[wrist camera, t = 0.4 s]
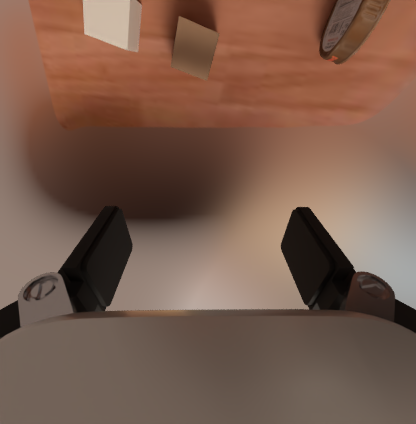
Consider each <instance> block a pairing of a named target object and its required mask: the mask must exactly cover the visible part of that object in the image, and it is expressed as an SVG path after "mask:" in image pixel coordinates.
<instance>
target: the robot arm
mask: <svg viewBox="0 0 416 424" xmlns="http://www.w3.org/2000/svg"><path fill="white" fill-rule="evenodd" d="M281 250H282V253H283V255H284V257H285V260H286V262H287V264H288V267H289V269H290V271H291V274H292V276H293V278H294V281H295V283H296V285H297V288H298V290H299V293H300V295H301V297H302V300H303V302H304V304H305V305H308V307H309V309H310V310H304V309H299V310H298V309H266V310H265V309H262V310H260V309H255V310H254V309H252V310H247V309H245V310H145V311H144V310H137V311H105V309H106V307H107V306H109V305H110V304H111V301H112V299H113V297H114V294H115V291H116V289H117V287H118V284H119V281H120V279H121V276H122V274H123V271H124V269H125V266H126V264H127V261H128V258H129V256H130V254H131V251H132V241H131V238H130V235H129V231H128V228H127V225H126V221H125V218H124V215H123V211H122V209H119V208H118V207H117V206H105V207H104V209H103V210H102V211H101V213H100V214H99V216H98V217H97V218H96V220H95V221H94V222H93V224H92V225H91V227H90V228H89V229H88V231H87V233H86V234H85V235H84V236H83V238H82V239H81V240H80V242H79V243H78V245H77V246H76V247H75V249H74V250H73V252H72V253H71V255H70V256H69V257H68V259H67V260H66V262H65V263H64V264H63V266H62V267H61V268H60V270H59V271H58V273H54V272H50V273H45V274H42V275H40V276H37V277H35V278H34V279H32V280H31V281H29V282H28V283H27V284H26V285H25V286H24V287H23V288H22V289H21V291H20V293H19V295H18V300H17V301H16V302H14V303H12V304H10V305H8V306H6V307H5V308H3V309H1V310H0V424H416V310H415V309H413V308H411V307H410V306H407V305H406V304H404V303H402V302H400V301H398V300H396V299H395V294H394V291H393V290H392V288H391V287H390V286H389V285H388V284H387V282H385V281H384V280H383V279H381V278H380V277H378V276H376V275H374V274H371V273H368V272H357V273H356V271H355V270H354V269H353V268H354V267H353V265H352V264H351V263H350V261H349V260H348V259H347V257H346V256H345V255H344V253H343V252H342V251H341V249H340V248H339V247H338V245H337V244H336V243H335V241H334V240H333V239H332V237H331V236H330V235H329V233H328V232H327V231H326V229H325V228H324V227H323V225H322V224H321V223H320V221H319V220H318V219H317V217H316V216H315V215H314V213H313V212H312V211H311V209H310V208H308V207H297V208H296V209H295V210H293V211H292V214H291V217H290V220H289V223H288V225H287V229H286V231H285V234H284V237H283V240H282V243H281Z"/></svg>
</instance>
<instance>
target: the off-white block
mask: <svg viewBox="0 0 416 424" xmlns="http://www.w3.org/2000/svg"><path fill="white" fill-rule="evenodd" d="M141 10H142V5H141V4H140V3H139V2H138V1H137V0H83V11H84V34H86V35H89V36H92V37H94V38H97V39H99V40H102V41H104V42H107V43H110V44H112V45H115V46H117V47H120V48H123V49H125V50H129V51H134V52H138V47H139V35H140V22H141Z"/></svg>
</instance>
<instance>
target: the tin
mask: <svg viewBox="0 0 416 424" xmlns="http://www.w3.org/2000/svg"><path fill="white" fill-rule="evenodd" d="M389 2H390V0H337V1H336V3H335V6H334V8H333V10H332V13H331V15H330V17H329V20H328V22H327V24H326V27H325V30H324V32H323V35H322V39H321V43H320V50H319V51H320V56H321V57H322V58H323V59H326V60H329V61H332V62H334V63H335V64H342V63H344V62H346V61H347V60H348V59H350V58H351V57H352V56H353V55H354V54H355V53H356V52H357V51H358V50H359V49H360V47H361V46H362V45H363V44H364V43H365V41H366V40H367V39H368V37H369V36H370V34H371V33H372V31H373V30H374V29H375V27H376V25H377V24H378V22H379V20H380V19H381V17H382V15H383V13H384V11H385V10H386V8H387V6H388V4H389Z"/></svg>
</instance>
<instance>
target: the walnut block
mask: <svg viewBox="0 0 416 424" xmlns="http://www.w3.org/2000/svg"><path fill="white" fill-rule="evenodd" d="M218 37H219V33H217V32H215V31H213V30H210V29H208V28H206V27H203V26H201V25H199V24H197V23H194V22H192V21H190V20H187V19H185V18H183V17H181V16H179V19H178V25H177V31H176V37H175V44H174V50H173V56H172V62H171V67H172V68H175V69H178V70H180V71H183V72H185V73H188V74H191V75H193V76H196V77H198V78H201V79H204V80H206V81H207V79H208V75H209V71H210V68H211V64H212V60H213V56H214V52H215V49H216V45H217V41H218Z"/></svg>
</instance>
